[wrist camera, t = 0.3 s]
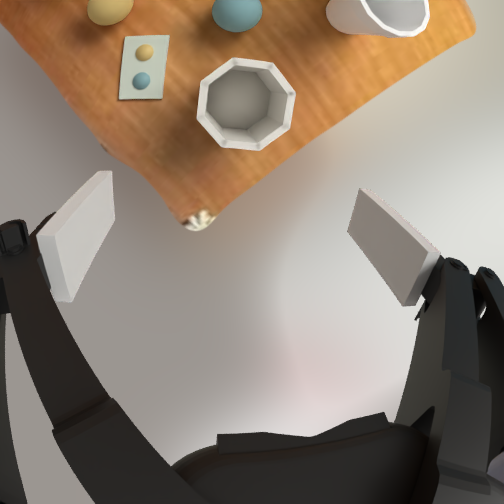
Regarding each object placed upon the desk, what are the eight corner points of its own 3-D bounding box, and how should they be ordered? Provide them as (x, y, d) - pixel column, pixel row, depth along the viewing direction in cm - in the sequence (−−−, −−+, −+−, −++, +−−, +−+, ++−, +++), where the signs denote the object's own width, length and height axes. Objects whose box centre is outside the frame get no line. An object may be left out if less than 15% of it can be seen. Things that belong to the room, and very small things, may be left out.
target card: (125, 37, 28) (124, 36, 28) (169, 35, 29) (169, 34, 29) (119, 99, 33) (118, 99, 32) (162, 98, 34) (161, 98, 34)
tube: (206, 62, 32) (204, 54, 24) (279, 70, 34) (300, 67, 26) (198, 130, 37) (194, 145, 29) (268, 137, 39) (285, 154, 30)
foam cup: (301, 14, 30) (339, -10, 19) (337, -23, 26) (382, -50, 15) (353, 56, 33) (406, 53, 22) (385, 19, 30) (440, 9, 19)
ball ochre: (100, -6, 24) (84, -17, 19) (141, -11, 25) (131, -24, 20) (93, 30, 27) (76, 24, 22) (134, 26, 28) (122, 18, 23)
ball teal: (215, -5, 27) (216, -19, 22) (261, 0, 28) (269, -13, 23) (208, 33, 30) (208, 24, 25) (255, 38, 31) (262, 30, 26)
